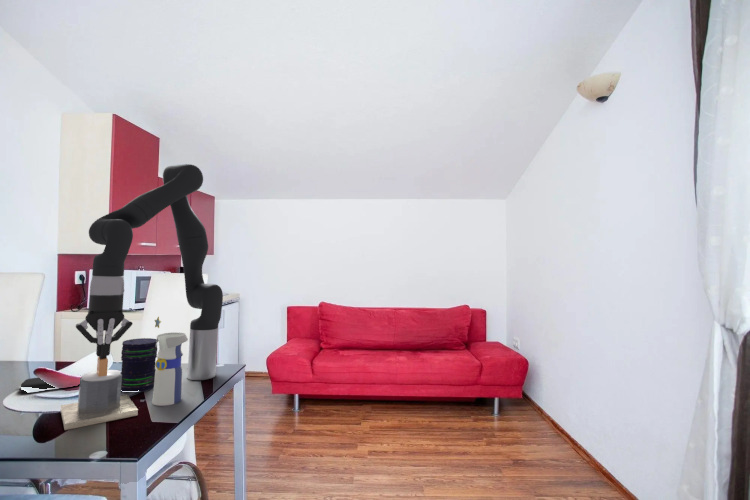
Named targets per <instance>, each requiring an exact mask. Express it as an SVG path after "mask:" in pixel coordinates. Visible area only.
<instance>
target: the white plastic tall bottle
mask: <svg viewBox="0 0 750 500" xmlns="http://www.w3.org/2000/svg"><path fill="white" fill-rule="evenodd" d="M154 322H155V325H154V328H158V329H160V324H161V323H162V321H161V320H160V316H158V317H157V319H154ZM156 339H157V342H156V346H157V347H159V349H158V351H157V356H156V360H155V369H156V371H155V380H154V388H153V393H152V400H151V404H152V405H153V406H171V405H175V404H179V403H180V402H182V400H183V395H182V393H183V392H182V390H183V388H182V387H183V367H182V357H183V356H184V353H183V351H182V344H184V343H185V342H188V339H189V338H188V336H187V334H186V333H184V332H165V333H160V334H157V336H156Z"/></svg>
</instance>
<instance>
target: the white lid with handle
mask: <svg viewBox="0 0 750 500" xmlns="http://www.w3.org/2000/svg"><path fill="white" fill-rule="evenodd" d="M96 360H97V363H96V370H95V371H90V372H87V373H84V374H82V375H81V378H82V381H86V382H100V381H107V380H112V379H115V378H118V377H119V376H120V374H121V371H120V370H117V369H108V367H109V366H108V363H109V359H108V357H107V358H101V359H100V358H99V357H98V356H97V359H96Z"/></svg>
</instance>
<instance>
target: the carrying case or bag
mask: <svg viewBox="0 0 750 500" xmlns="http://www.w3.org/2000/svg"><path fill="white" fill-rule="evenodd" d="M21 387H32V388H39V389H47V388H55V387H53V386H51V385H49V384H47V383H46V382H44V381H43V380H41V379H40V378H39V377H31V378H28V379H25V380H24V381H23V382H22V383H21V384H20V389H19V391H20V392H21V393H22V394H24V395H25V394H26V395H28V394H30V393H27V392H26V391H24V390H21Z"/></svg>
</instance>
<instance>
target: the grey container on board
mask: <svg viewBox="0 0 750 500" xmlns="http://www.w3.org/2000/svg"><path fill="white" fill-rule="evenodd" d="M121 382H122V375H121V374H120V376H119V377H118V378H115V379H112V380H107V381H100V382H86V381H82V377H81V378H80V384H79V386H78V387H79V388H78V401H77V402H73V403H66V404H61V405H60V414H61V420H62V424H63V429H64V431H68V430H73V429H77V428H78V429H79V428H84V427H87V426H88V427H89V426H92V425H96V424H102V423H106V422H112V421H118V420H121V419H126V418H131V417H136V416H138V415H139V413H138V411H139V409H138V408H137V406H136V405H135V403H134V402H133V400H131V398H130V396H129V395H128V393H124V394H122V392H121Z"/></svg>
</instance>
